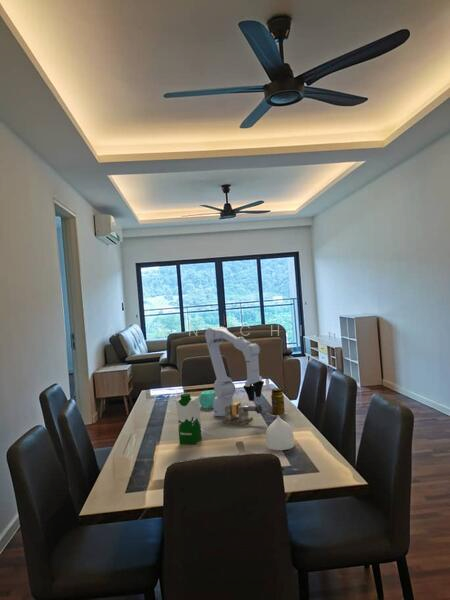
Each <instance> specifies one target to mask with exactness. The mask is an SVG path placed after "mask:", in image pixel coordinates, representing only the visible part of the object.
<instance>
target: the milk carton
mask: <svg viewBox="0 0 450 600" xmlns="http://www.w3.org/2000/svg"><path fill="white" fill-rule="evenodd" d="M199 399H200V396H198V395H197V396H191V394H190V393H182V394H180V397H179V398H177V399H176V400H175V404H176V410H177V411H176V412H177V413H176V414H177V425H178V426H177V427H178V441H179V445H197V444H198V443H199V442H200V441H201V440H202V439H203V437H202V427H201V426H202V425H201V411H200V402H199Z"/></svg>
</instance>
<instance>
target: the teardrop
mask: <svg viewBox="0 0 450 600" xmlns="http://www.w3.org/2000/svg"><path fill="white" fill-rule="evenodd" d="M265 446H266V448H267V449H269V450H275V451H285V450H286V451H287V450H290V449H292V448H294V447H295V439H294V432H293V430H292V427H291V426H290V425H289V423H288V422H286V421H285V420H283V419H282V418H281V417H280V416H279V415H278V416H276V418H275V420H274V421H273V422H271V424H270V425H268V427H267V429H266V432H265Z"/></svg>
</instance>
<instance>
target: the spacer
mask: <svg viewBox="0 0 450 600" xmlns="http://www.w3.org/2000/svg"><path fill="white" fill-rule="evenodd" d="M241 403H242V402H239V401H236V402H233V404H232V415H235V416H238V410H237V406H238V405H241V406H242V404H241Z"/></svg>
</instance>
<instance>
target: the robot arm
mask: <svg viewBox="0 0 450 600" xmlns="http://www.w3.org/2000/svg"><path fill="white" fill-rule="evenodd" d="M204 337H205V340H206V345H207V349H208V351H209V357H210V360H211V364H212V367H213V371H214V374H215V379H216V380H215V381H214V383H213V391H214V393H215V395H216V396H217V397H215V398H214V401H213V406H214V408H213V416H215V417H225V406H229V404H230V403H233V404H234V399H233V397H234V394H235V392H236V386H235V384H234V382H233V380H232V378H230V377H229V376H227V372H226V371H227V370H226V368H225V364H224V361H223V357H222V354H221V350H220V344H222V342H223V341H224V340H225V341H228V342H230V343H231V344H233V347H234V348H235V349H237V350H238V351H240V352H242V354H243V356H244V360H245V364H246V375H247V376H246V377H247V379H246V381H245V383H244V385H243V389H244V390H245V392H246V394H247V398H248V401H249V402H254V401H255V397H256V398H261V395H262V390H263V386H264V384H265V381H264V380H263V376H261V375H260V366H259V365H260V364H259V355H260V353H261V348H260V345H259V344H258V343H256V342H253V343H252V342H251V341H248V340H247V339H245V337H243V336H238V337H237V336H236V335H235V334H233V333H232V332H230V331H229V330H228V328H227V327H224V326H222V325H221V326H218V327H209V328H207V329H206V330H205V333H204Z"/></svg>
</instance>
